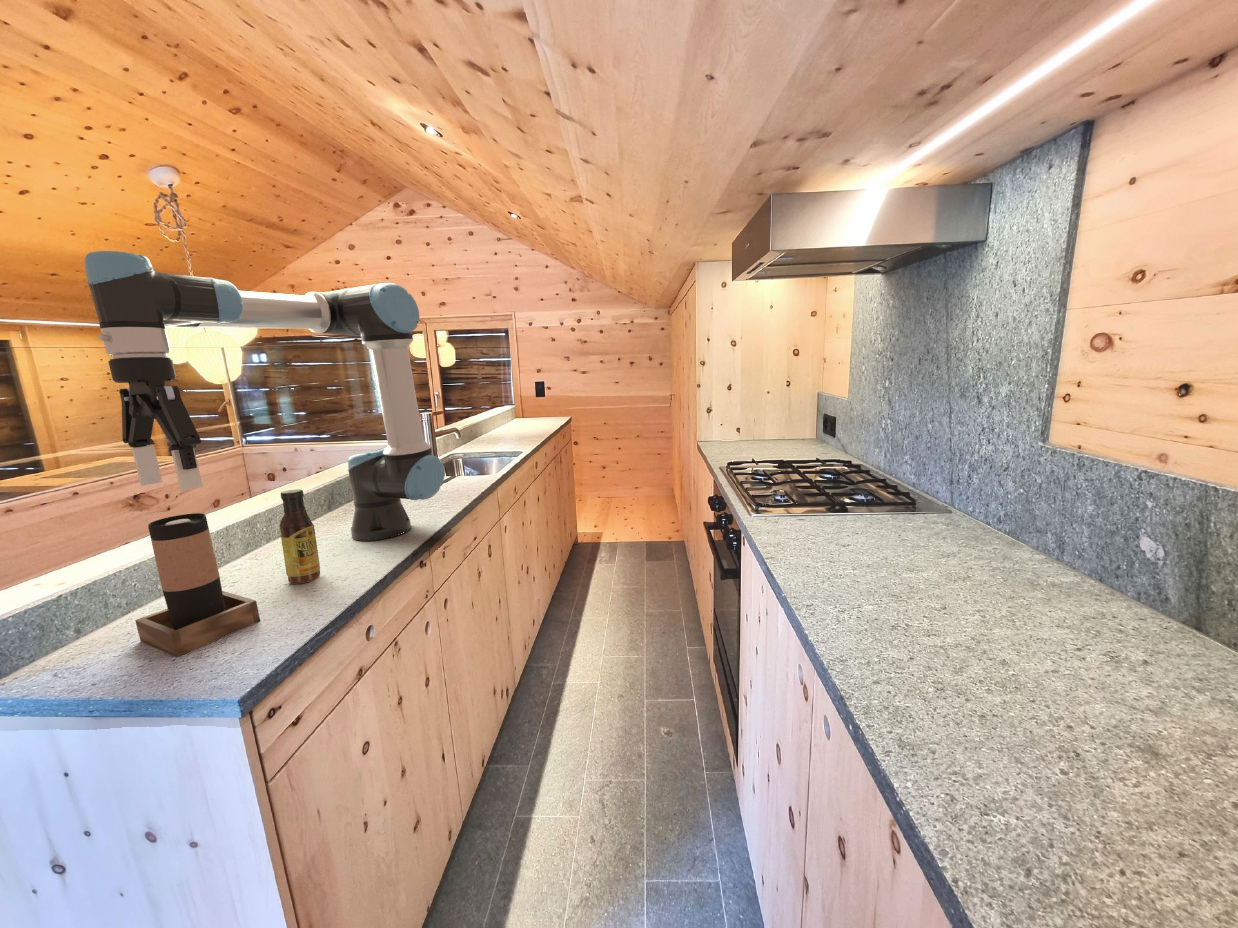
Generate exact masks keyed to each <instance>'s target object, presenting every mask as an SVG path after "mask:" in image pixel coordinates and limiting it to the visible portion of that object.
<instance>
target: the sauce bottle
mask: <svg viewBox="0 0 1238 928" xmlns="http://www.w3.org/2000/svg"><path fill="white" fill-rule="evenodd" d="M280 498H281V501H282V505H283V512H284V514H283V516H282V518H281V521H280V523H279V529H280V534H281V535H280V539H281V545H282V546H281V547H282V553H283V559H284V565H285V573H286V576H287V580H288V582H289V583H290V584H294V585H300V584H304V583H309V582H312V581H314V580H317V579H318V578H319V577H320V576H321V565H320V557H319V552H318V551H319V550H318V544H317V537H316V529H315V525H314V523H313V522H312V520H311V518H310V516H309V514H308V512H307V510H306V507H305V502H304V490H303V489H302V488H301V489H299V488H298V489H289V490H284V491H281V492H280Z"/></svg>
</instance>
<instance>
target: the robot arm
mask: <svg viewBox="0 0 1238 928" xmlns="http://www.w3.org/2000/svg"><path fill="white" fill-rule="evenodd" d="M84 265H85V266H84V268H85V274H86V280H87V282H86V284H87V286H88V287H89V291H90V294H91V298H92V299H91V300H92V302H93V305H94V309H95V313H96V316H97V319H98V325H99V328H100V332H101V334H99V335H97V338H98V340H99V341H100V342H103V345H104V348H105V353H106V354H107V355H109V356H112V358H110V359H109V361H108V362H107V363H108V366H109V370H110V374H111V378H112V381H113V382H114V383H116V384H117V383H118V384H128V388H120V389H119V396H120V402H121V428H122V429H121V433H122V434H121V435H122V439H121V440H122V442H123V443H124V444H128V446H129V447H130V448H131V451H132V456H133V459H134V465H135V467H136V472H137V476H138V480H139V483H140V484H139V485H140V486H142V487H143V486H144V487H145V486H149V485H154V484H158V483H159V484H160V483H163V479H162V475H161V471H160V465H159V461H158V457H157V453H156V450H155V446H154V445H156V442H155V441H154V440H153V439H152V433H153V428H154V422H155V421H156V423H158V425H159V427H160V429H162V432H163V433H164V435H165V436H166V438H167V439H168V441H169V442H170V445H169V448H168V451H169V452H171V456H172V460H173V465H174V469H175V473H176V479H177V482H178V488H179V490H180V492H187V491H190V490H195V489H200V488H203V483H202V477H201V473H200V469H199V465H198V460H197V455H196V449H195V448H196V446H197V445H200V444H202V439H201V437H200V435H199V433H198V431H197V428H196V427H195V424H194V423H193V421H192V418H191V416H190V413H188V409H186V406H185V404H184V402H183V399H182V396H181V393H180V389H179V387H178V386H177V385H170V386H168V385H167V384H166V382H170V381H175V380H176V379H177V374H176V370H175V365H174V361H173V359H171V357H168V355H170V354H171V353H172V350H171V345H170V340H169V337H168V331H167V328H180V329H181V328H183V329H184V328H189V329H190V328H203V329H204V328H206V329H208V328H209V329H211V328H214V329H218V328H219V329H222V328H223V329H278V330H279V329H281V330H282V329H285V330H287V329H289V330H291V329H292V330H294V329H295V330H309V331H310V332H311V333H315V334H327V335H339V336H349V337H350V336H351V337H360V339H361V344H362V345H363V346H364V347H367V348H368V349H369V351H370V354H371V360H372V361H371V362H372V366H373V370H374V375H375V377H374V378H375V380H376V387H377V392H378V399H379V403H380V408H381V414H382V418H383V419H382V420H383V425H384V430H385V434H386V441H387V446H386V448H383V449H378V450H371V451H366V452H362V453H357V454H356V453H355V454H353V455H350V456H349V458H348V459H347V466H348V470H347V472H348V474H349V480H350V488H351V491H352V492H351V493H352V498H353V499H352V501H353V505H354V506H353V507H354V511H353V512H354V513H353V516H352V517H353V518H352V524H351V527H350V534H351V538H352V539H353V540H355V541H363V542H364V541H365V542H366V541H368V542H369V541H372V542H373V541H379V540H380V541H381V540H385V538H386V539H390V538H393V537H392V536H394V537H397V536H396V535H398V534H400V535H402V534H401V533H403V532H405V533H407V532H409V531H410V530H411V529H412V525H411V520H410V517H409V515H408V514H407V511H406V510H405V508H404V506H403V504H402V500H401V499H403V500H404V499H405V500H411V501H419V500H420V501H421V500H428V499H431V498H432V497H434V496H435V495H437V493H438V492H439V491H440V489H441V487H442V486H443V483H444V479H445V466H444V463H443V461H442V460H440V458H439V457H437V456H435V455H433V452H432V446H431V445H430V444H429V443H427V442H426V441H425V440H424V434H423V429H422V423H421V419H420V418H421V417H420V412H419V405H418V400H417V393H416V387H415V382H414V377H413V371H412V364H411V359H410V352H409V346H410V345H411V344H412V342H414V337H413V331H415V330H416V329H417V327H418V326H419V325H418V324H419V322H420V310H419V307H418V303H417V302H416V301H415V298H414V297H413V295H412V294H411V293H409V292H408V290H407V289H405V287H403V286H402V285H399V284H397V283H391V282H385V283H383V282H380V283H374V284H368V285H363V286H356V287H355V286H354V287H348V288H342V289H338V290H332V291H324V292H322V291H321V292H320V291H318V292H317V291H309V292H306V294H305V295H301V294H300V295H299V294H288V293H287V294H286V293H275V292H258V291H247V290H239V288H237V287H236V285H234V284H233V283H232V282H230V281H228V280H223V279H218V278H213V277H211V276H209V277H204V276H203V277H202V276H193V275H184V274H177V273H169V272H167V273H165V272H161V271H156V270H155V269H154V267H153V264H152V262H151V261H150V259H149V258H148V257H147V256H144V255H141V254H136V253H133V252H127V251H120V250H119V251H116V250H98V251H96V250H95V251H90V252H88V253H87V254H86V255H85V257H84ZM410 528H411V529H410ZM409 529H410V530H409ZM406 531H407V532H406ZM403 534H404V533H403ZM398 536H399V535H398ZM389 537H390V538H389Z"/></svg>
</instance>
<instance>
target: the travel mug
mask: <svg viewBox="0 0 1238 928" xmlns="http://www.w3.org/2000/svg"><path fill="white" fill-rule="evenodd" d="M147 525H148V526H147V527H148V528H147V529H148V532H149V538H150V540H151V545H152V550H153V556H154V559H155V563H156V564H155V565H156V567H157V568H156V569H157V573H158V577H159V581H160V586H161V590H162V593H163V597H164V598H163V599H164V601H165V605H166V606H167V608H166V609H168V612H169V615H170V619H171V622H172V626H173V629H174V630H178V629H180V628H183V627H185V626H188V625H191V624H193V623H196V622H198V621H201V620H203V619H206V618H208V617H211V616H213V615H216V614H218V613H221V612H223V611H225V605H224V599H223V593H222V591H223V589H222V583H221V577H220V572H219V567H218V563H217V562H218V561H217V558H216V554H215V550H214V546H213V541H212V536H211V533H210V528H209V523H208V519H207V515H206V514H205V513H198V512H196V513H195V512H193V513H184V514H178V515H173V516H168V517H164V518H160V519H157V520H154V521H152V522H150V523H149V524H147Z"/></svg>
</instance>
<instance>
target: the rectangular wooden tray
mask: <svg viewBox="0 0 1238 928" xmlns="http://www.w3.org/2000/svg"><path fill="white" fill-rule="evenodd" d="M222 593H223V599H224V605H225V611H223V612H221V613H218V614H216V615H213V616H211V617H208V618H206V619H203V620H201V621H198V622H196V623H193V624H191V625H188V626H185V627H183V628H180V629H178V630H174V629H173V626H172V622H171V619H170V615H169V612H168V608H165V609H162V610H160V611H157V612H154V613H152V614H148V615H146V616H143V617H140V618H137V619H135V620H134V622H135V625H136V629H137V632H138V636H139V640H140V642H141V643H143V644H145V645H147V646H150V647H152V648H155V649H157V650H159V651H161V652H164V653H166V654H169V655H170V656H173V657H175V658H178V657H180V656H183V655H185V654H187V653H190V652H192V651H195V650H197V649H199V648H202V647H203V646H207V645H209V644H212V643H213V642H215V641H217V640H220V639H222V638H225V637H226V636H228V635H231V634H233V633H236V632H239V631H240V630H242V629H245V628H248V627H250V626H252V625H254V624H256V623H258V622H260V621H261V619H260V612H259V607H258V603H257V600H256V599H252V598H248V597H245V596H242V595H239V594H235V593H232V592H227V591H225V590H222Z"/></svg>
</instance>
